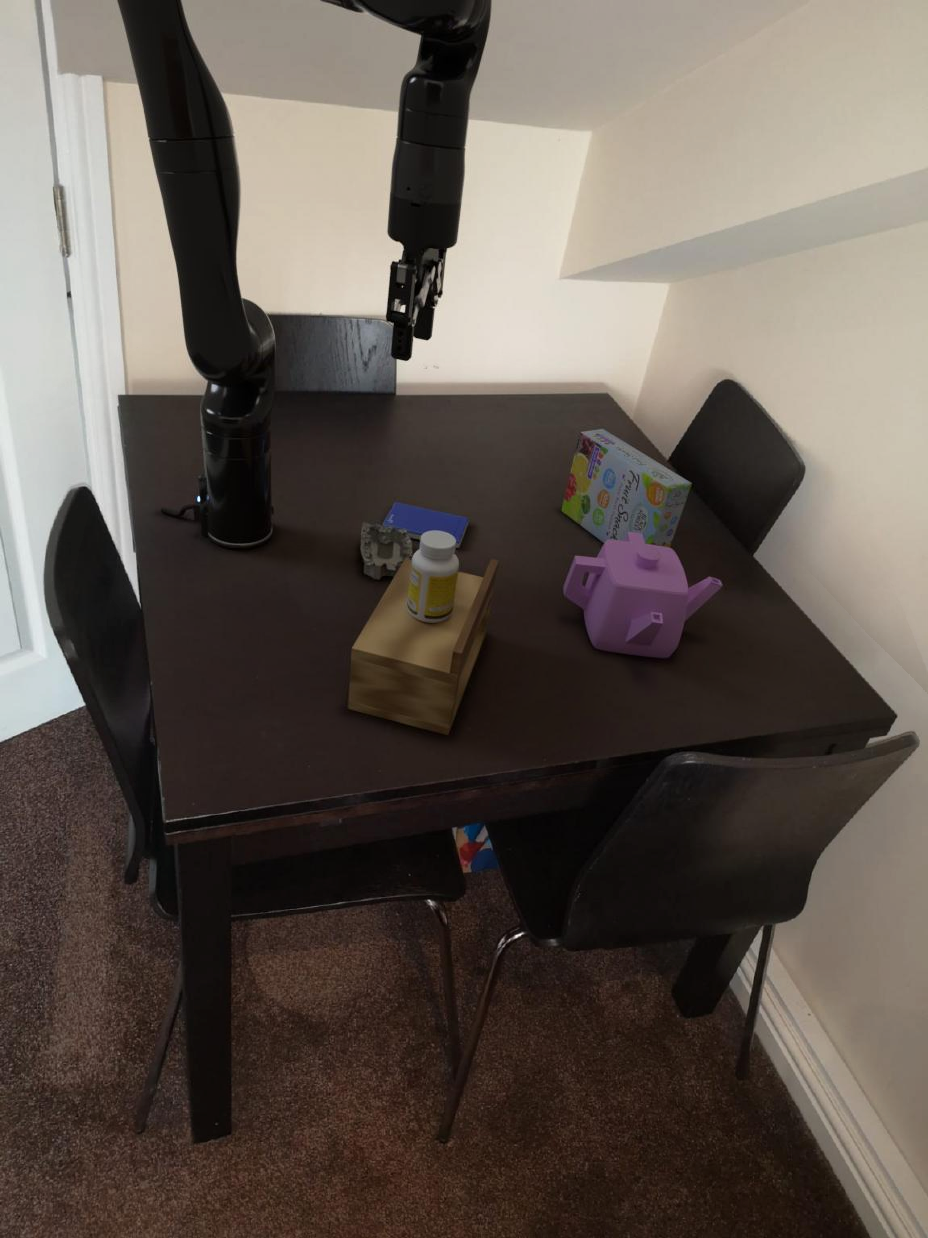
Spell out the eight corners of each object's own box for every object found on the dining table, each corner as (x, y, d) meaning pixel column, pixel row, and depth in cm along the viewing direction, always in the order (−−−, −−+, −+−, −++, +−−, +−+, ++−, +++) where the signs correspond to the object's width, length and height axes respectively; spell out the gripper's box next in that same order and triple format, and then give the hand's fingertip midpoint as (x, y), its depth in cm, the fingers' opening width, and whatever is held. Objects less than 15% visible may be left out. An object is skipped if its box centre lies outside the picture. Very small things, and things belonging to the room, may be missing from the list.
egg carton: (411, 583, 114) (414, 558, 112) (359, 579, 113) (360, 555, 111) (409, 543, 123) (411, 520, 120) (360, 540, 122) (361, 517, 119)
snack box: (666, 567, 127) (694, 482, 119) (640, 574, 125) (667, 487, 116) (583, 506, 141) (603, 425, 132) (558, 511, 138) (577, 429, 129)
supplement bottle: (459, 607, 95) (470, 536, 89) (439, 630, 91) (449, 557, 85) (419, 592, 97) (428, 521, 91) (398, 614, 92) (405, 541, 87)
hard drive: (382, 524, 123) (459, 540, 123) (395, 500, 130) (469, 516, 129) (381, 532, 124) (458, 549, 123) (394, 509, 131) (468, 525, 130)
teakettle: (615, 580, 122) (635, 509, 115) (708, 636, 113) (737, 563, 106) (542, 616, 112) (560, 541, 104) (639, 682, 103) (666, 604, 95)
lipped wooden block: (347, 709, 91) (353, 625, 84) (399, 614, 108) (407, 538, 101) (448, 735, 90) (461, 653, 83) (485, 636, 106) (499, 560, 99)
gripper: (411, 179, 89) (399, 326, 98) (369, 193, 77) (360, 359, 87) (476, 191, 88) (457, 338, 97) (443, 207, 76) (426, 373, 86)
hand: (411, 348), depth 92 cm, fingers open, 8 cm apart
